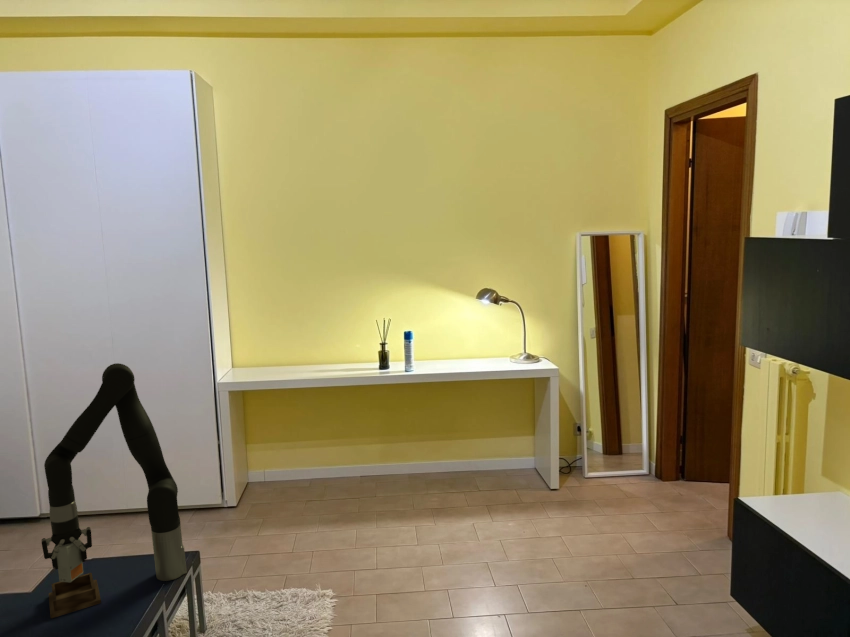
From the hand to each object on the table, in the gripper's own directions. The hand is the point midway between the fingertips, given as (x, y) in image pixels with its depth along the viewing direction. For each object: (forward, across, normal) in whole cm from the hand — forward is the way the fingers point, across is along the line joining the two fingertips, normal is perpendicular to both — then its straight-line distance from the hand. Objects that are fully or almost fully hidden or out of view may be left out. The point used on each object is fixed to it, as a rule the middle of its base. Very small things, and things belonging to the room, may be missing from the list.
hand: (70, 564), depth 205 cm
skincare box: (+5, 0, 0) cm, 5 cm away
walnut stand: (+12, 0, 0) cm, 12 cm away
